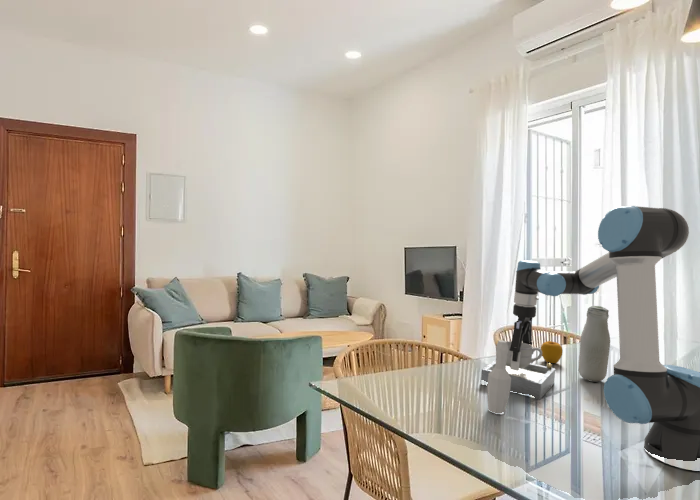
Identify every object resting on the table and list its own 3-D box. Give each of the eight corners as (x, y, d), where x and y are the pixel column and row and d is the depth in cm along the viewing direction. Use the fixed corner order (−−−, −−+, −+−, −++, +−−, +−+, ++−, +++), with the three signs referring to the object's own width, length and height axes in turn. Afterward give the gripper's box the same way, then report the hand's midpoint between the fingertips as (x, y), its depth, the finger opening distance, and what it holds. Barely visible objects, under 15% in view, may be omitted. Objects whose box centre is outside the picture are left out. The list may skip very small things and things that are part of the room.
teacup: (496, 366, 172) (498, 344, 171) (502, 359, 182) (504, 337, 181) (538, 375, 166) (540, 352, 165) (542, 366, 175) (544, 344, 174)
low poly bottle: (498, 406, 153) (504, 337, 151) (511, 415, 147) (518, 343, 145) (481, 408, 151) (487, 339, 149) (494, 417, 145) (500, 345, 143)
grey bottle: (602, 377, 186) (610, 305, 183) (608, 387, 176) (617, 310, 173) (574, 373, 189) (581, 302, 186) (579, 382, 179) (586, 307, 176)
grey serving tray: (539, 400, 160) (541, 379, 160) (480, 384, 172) (482, 364, 171) (554, 383, 177) (555, 364, 176) (499, 370, 188) (500, 352, 187)
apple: (534, 359, 204) (536, 339, 203) (551, 358, 206) (553, 338, 205) (548, 366, 196) (550, 345, 195) (566, 365, 198) (568, 344, 197)
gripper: (526, 311, 160) (520, 377, 162) (544, 301, 179) (538, 360, 181) (503, 307, 164) (498, 371, 166) (523, 298, 183) (518, 355, 185)
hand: (519, 365), depth 173 cm, fingers closed on teacup, 11 cm apart
